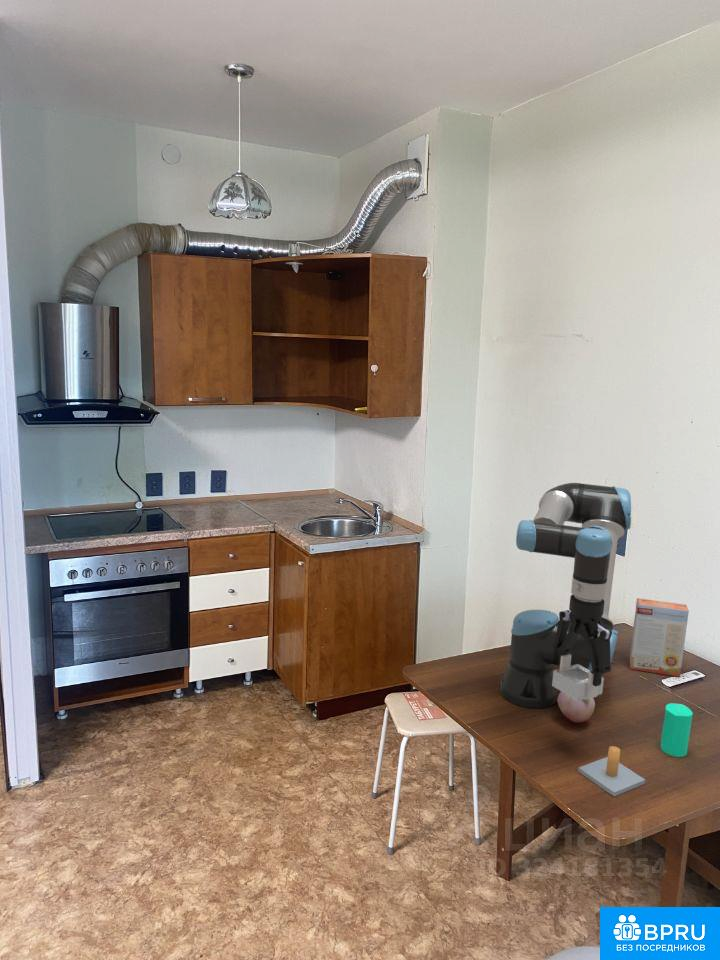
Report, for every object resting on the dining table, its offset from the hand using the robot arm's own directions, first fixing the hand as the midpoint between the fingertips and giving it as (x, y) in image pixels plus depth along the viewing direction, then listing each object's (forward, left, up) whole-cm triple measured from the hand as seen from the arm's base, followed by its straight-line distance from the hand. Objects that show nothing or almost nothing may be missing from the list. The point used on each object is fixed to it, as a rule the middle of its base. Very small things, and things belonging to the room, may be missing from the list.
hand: (577, 688), depth 167 cm
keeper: (+13, -1, -15) cm, 20 cm away
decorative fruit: (-8, +10, -15) cm, 20 cm away
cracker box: (-19, +55, -15) cm, 60 cm away
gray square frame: (0, 0, 0) cm, 0 cm away
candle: (+12, +22, -15) cm, 29 cm away
